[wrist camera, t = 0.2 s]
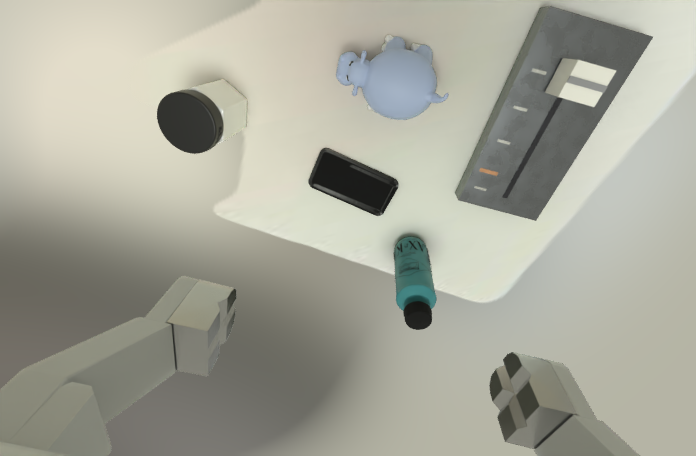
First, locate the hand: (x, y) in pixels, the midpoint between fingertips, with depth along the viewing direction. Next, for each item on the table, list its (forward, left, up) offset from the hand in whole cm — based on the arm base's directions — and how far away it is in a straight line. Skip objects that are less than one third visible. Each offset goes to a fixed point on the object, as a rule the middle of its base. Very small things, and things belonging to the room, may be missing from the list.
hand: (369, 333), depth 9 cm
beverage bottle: (+25, +14, -48) cm, 56 cm away
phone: (+15, 0, -48) cm, 50 cm away
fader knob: (-9, +25, -44) cm, 51 cm away
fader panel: (-2, +25, -47) cm, 53 cm away
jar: (+8, -24, -48) cm, 54 cm away
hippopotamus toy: (-3, +1, -48) cm, 48 cm away
